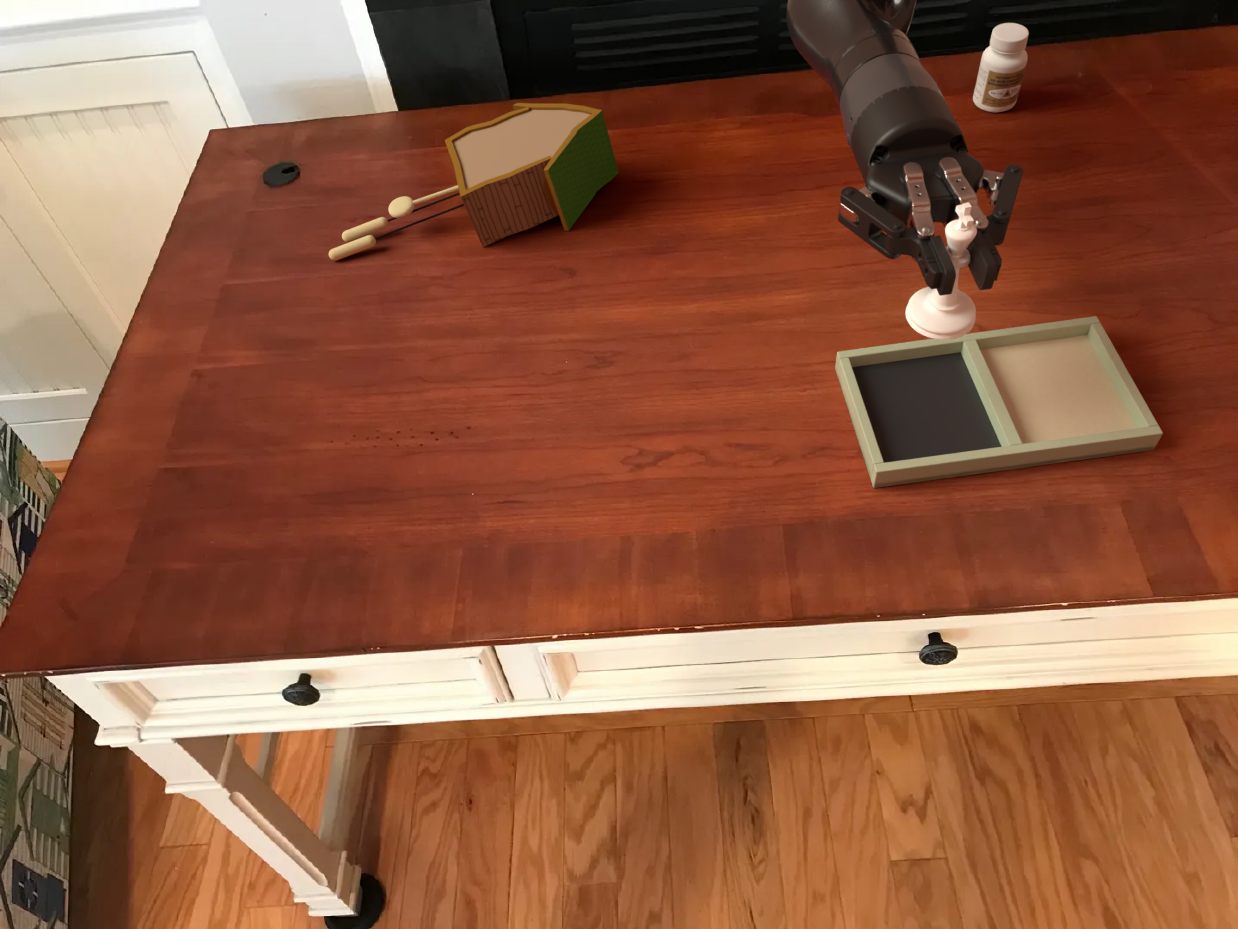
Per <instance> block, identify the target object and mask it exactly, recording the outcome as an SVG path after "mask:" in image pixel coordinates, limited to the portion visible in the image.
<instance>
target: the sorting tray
mask: <svg viewBox="0 0 1238 929" xmlns="http://www.w3.org/2000/svg"><path fill="white" fill-rule="evenodd" d="M1109 337H1110V336H1108V333H1107V332H1106V330H1105V328H1104V326H1103V325H1102V323H1101V321H1100V319H1099V318H1098V316H1096V315H1094V316H1087V317H1080V318H1071V319H1066V320H1057V321H1049V322H1042V323H1035V324H1028V325H1022V326H1021V325H1020V326H1014V327H1007V328H1000V329H999V328H998V329H992V330H984V331H977V332H972V333H970V332H968V333H966V334H965V335H963V336H961V337H958V338H955V339H949V340H939V339H933V338H925V339H919V340H911V341H906V342H905V341H904V342H898V343H890V344H883V345H875V346H869V347H861V348H854V349H847V350H840V351H837V352H836V358H835V365H834V370H835V373H836V376H837V380H838V382H839V385H840V389H841V391H842V395H843V397H844V401H845V404H846V407H847V410H848V414H849V417H850V421H851V423H852V427H853V429H854V433H855V435H856V438H857V442H858V444H859V447H860V448H859V449H860V450H861V454H862V457H863V460H864V463H865V466H866V470H867V472H868V475H869V479H870V481H871V485H872V488H874V489H876V488H883V487H890V486H891V487H892V486H898V485H906V484H913V483H914V484H915V483H921V482H928V481H935V480H943V479H951V478H958V477H965V476H973V475H980V474H987V473H994V472H1001V471H1008V470H1009V471H1010V470H1017V469H1022V468H1023V469H1025V468H1031V467H1038V466H1039V467H1040V466H1044V465H1045V466H1046V465H1053V464H1060V463H1068V462H1074V461H1076V462H1077V461H1082V460H1090V459H1097V458H1104V457H1105V458H1106V457H1111V456H1112V457H1113V456H1120V455H1127V454H1134V453H1141V452H1142V453H1143V452H1148V451H1154V450H1155V449H1156V446H1157V445H1158V443H1159V441H1160V439H1161V438H1162V436H1163V435H1164V434H1163V430H1162V428H1161V427H1160V425H1159V424H1158V422H1157V420H1156V418H1155V416H1154V414H1153V413H1152V411H1151V409H1150V408H1149V405H1148V404H1147V401H1145V399H1144V397H1143V395H1142V394H1141V392H1140V390H1139V388H1138V386H1137V385H1136V383H1135V381H1134V379H1133V377H1132V376H1131V374H1130V372H1129V370H1128V369H1127V367H1126V365H1125V364H1124V362H1123V360H1122V358H1121V356H1120V355H1119V353H1118V351H1117V349H1116V347H1115V346H1114V344H1113V342H1112V341H1111V339H1110V338H1109Z"/></svg>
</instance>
